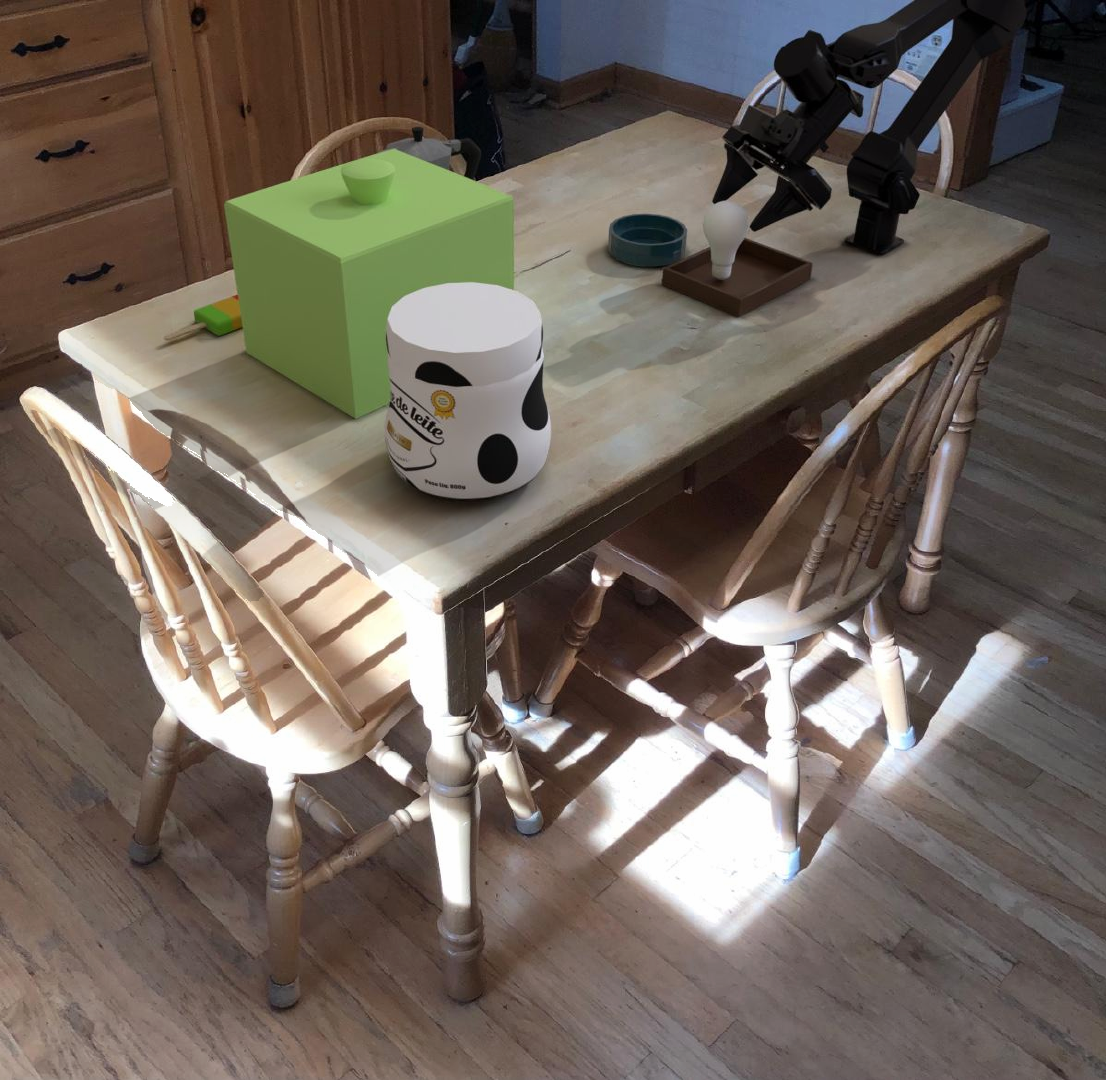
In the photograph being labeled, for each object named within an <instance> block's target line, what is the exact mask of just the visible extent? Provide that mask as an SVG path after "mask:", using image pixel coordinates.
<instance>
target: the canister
mask: <svg viewBox="0 0 1106 1080" xmlns="http://www.w3.org/2000/svg"><path fill="white" fill-rule="evenodd" d="M223 208H224V213H225V221H226V227H227V233H228V241H229V247H230V248H229V249H230V253H231V261H232V266H233V273H234V280H235V286H236V293H237V294H238V300H239V307H240V313H241V320H242V326H243V327H242V332H243V333H242V334H243V340H244V345H245V346H244V347H245V352H246V354H247V355H249V356H251V357H252V358H254V359H256V360H257V361H259V362H261V363H262V364H264V365H266V366H268V367H269V368H271V369H272V370H274V371H275V372H278V373H279V374H281V375H283V376H284V377H285V378H288V379H289V380H291V381H293V382H294V383H296V384H297V385H299V386H301V387H302V388H304V389H306V390H307V391H309V392H310V393H312V394H314V395H315V396H317V397H318V398H320V399H322V400H324V401H325V402H327V403H329V404H330V405H332V406H334V407H335V408H337V409H339V410H340V411H342V412H344V413H345V414H347V415H349V416H350V417H352V418H354V419H356V420H357V419H359V418H362V417H364V416H366V415H367V414H369V413H372V412H374V411H376V410H378V409H381V408H383V407H384V406H387V405H389V401H390V395H391V387H390V376H389V368H388V350H387V345H386V325H387V319H388V316H389V313H390V310H391V308H392V306H393V305H394V304H396V303H397V302H398V301H399V300H400V299H402V298H403V297H404V296H406V295H408V294H411V293H413V292H415V291H418V290H420V289H423V288H426V287H431V286H436V285H441V284H446V283H466V282H475V283H483V284H492V285H498V286H501V287H505V288H508V289H511V290H514V291H515V198H513V195H512V194H509V193H506V192H502V191H500V190H498V189H495V188H493V187H490V186H488V185H486V184H483V183H481V182H478V181H476V180H475V179H474V180H471V179H469V178H466V177H464V175H461V174H459V173H456V172H454V171H452V170H450V169H449V170H446V169H444V168H441V167H439V166H436V165H434V164H431V163H429V162H426V161H424V160H421V159H419V158H416V157H413V156H411V155H408V154H406V153H403V152H401V151H399V150H397V149H391V150H387V151H384V152H381V153H377V152H376V153H373V154H372V155H368V156H364V157H360V158H357V159H354V160H352V161H349V162H346V163H342V164H339V165H335V166H332V167H329V168H326V169H322V170H320V171H316V172H313V173H310V174H307V175H304V176H299V177H297V178H294V179H291V180H288V181H284V182H281V183H278V184H275V185H272V186H269V187H266V188H262V189H259V190H257V191H256V190H255V191H253V192H250V193H247V194H244V195H240V196H238V197H234V198H232V199H231V198H230V199H229V200H226V201H225V202H224V204H223ZM237 294H236V295H237Z"/></svg>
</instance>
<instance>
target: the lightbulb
mask: <svg viewBox="0 0 1106 1080" xmlns="http://www.w3.org/2000/svg"><path fill="white" fill-rule="evenodd" d="M750 224H751V223H750V217H749V214H748V212H747V211H746V209H745V207H744V206H742V205H741V204H740V203H738V202H735V201H733V200H726V201H721V202H718V203H716V204H712V205H711V206H710V207H709V208H708V210H707V211H706V213H705V214H704V217H703V220H702V228H703V233H704V235H705V238H706V240H707V242H708V244H709V247H710V248H711V261H712V275H713V276H714V277H715V278H717V279H718V280H724V279H726V278H728V277H729V276H730V274H731V268H732V263H733V262H734V259H735V254H736V251H737V249H738V247H739V245H740V244H741V243H742V241H743V240H744V238H747V235H748V233H749V229H750V227H749V226H750Z"/></svg>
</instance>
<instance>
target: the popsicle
mask: <svg viewBox="0 0 1106 1080" xmlns="http://www.w3.org/2000/svg"><path fill="white" fill-rule="evenodd" d="M193 318H194V321H195V324H193V325H190V326H187V327H184V328H182V329H179V330H177V331H174V332H171V333H169V334H165V335H164V336H163V339H164V341H166V342H167V341H172V340H175V339H178V338H180V337H182V336H185V335H188V334H191V333H194V332H196V331H198V330H201V329H204V328H205V330H208V331H210V332H212V333H213V334H214V335H216V336H218V337H220V336H223V335H226V334H229V333H230V332H233V331H235V330H238V329H242V328H243V326H242V320H241V313H240V307H239V300H238V294H235V295H232V296H230V297H227V298H224V299H221V300H218V301H215V302H213V303H210V304H207V305H205V306H202V307H199V308H196V309H195V310H194V311H193Z"/></svg>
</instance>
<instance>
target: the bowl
mask: <svg viewBox="0 0 1106 1080" xmlns="http://www.w3.org/2000/svg"><path fill="white" fill-rule="evenodd" d="M687 236H688V228H687V226H685V224H684V223H683V222H681V221H680V220H678V219H676V218H673V217H670V216H667V215H661V214H655V213H634V214H628V215H623V216H621V217H617V218H615V219H614V220H613V221H611V222H610V223H609V227H608V240H607V251H608V253H609V255H610V256H612V257H613V258H614V259H615V260H617V261H619V262H621V263H624V264H628V265H631V266H637V267H647V268H650V267H665V266H669V265H671V264H673V263H675V262H677V261H680V260H682V259H684V258H685V255H686V248H687V238H688V237H687Z"/></svg>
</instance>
